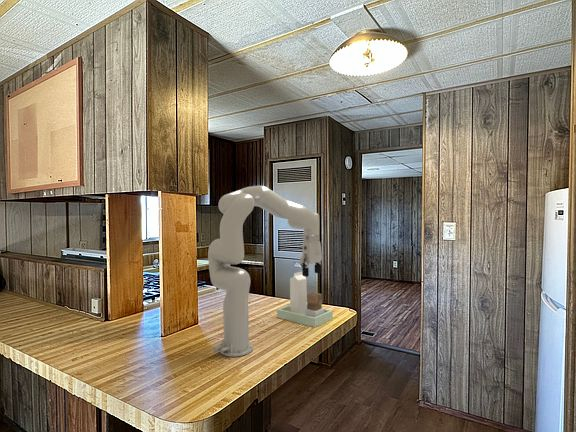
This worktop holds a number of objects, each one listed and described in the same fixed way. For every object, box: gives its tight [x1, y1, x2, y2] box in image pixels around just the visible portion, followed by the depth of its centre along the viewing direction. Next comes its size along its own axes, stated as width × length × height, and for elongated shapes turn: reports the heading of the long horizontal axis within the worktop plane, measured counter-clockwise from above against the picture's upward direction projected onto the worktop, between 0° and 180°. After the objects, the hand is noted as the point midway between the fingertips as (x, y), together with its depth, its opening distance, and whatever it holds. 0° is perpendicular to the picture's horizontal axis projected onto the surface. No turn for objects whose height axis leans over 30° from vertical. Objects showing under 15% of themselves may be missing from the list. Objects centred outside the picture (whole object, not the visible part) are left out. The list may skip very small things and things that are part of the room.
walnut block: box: [307, 292, 323, 311], centre depth 159 cm, size 5×5×7 cm
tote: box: [276, 304, 334, 328], centre depth 164 cm, size 15×23×4 cm, turn 50°
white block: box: [305, 307, 325, 317], centre depth 159 cm, size 7×6×6 cm
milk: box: [289, 271, 308, 315], centre depth 167 cm, size 6×6×22 cm
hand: (311, 274), depth 159 cm, fingers open, 9 cm apart
